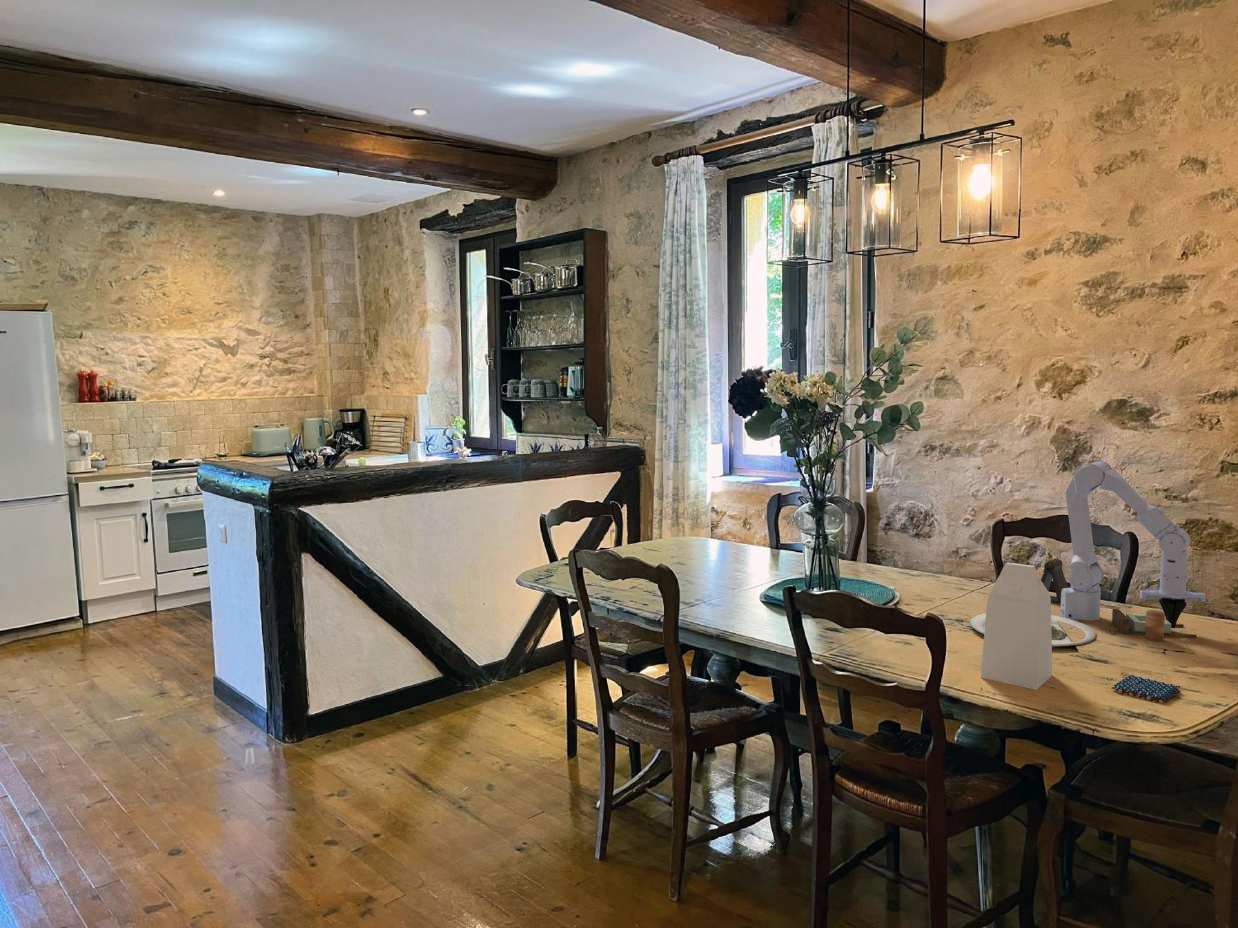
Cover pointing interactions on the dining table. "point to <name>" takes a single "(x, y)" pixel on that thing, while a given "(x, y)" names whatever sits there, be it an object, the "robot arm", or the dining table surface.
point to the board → (1123, 626)
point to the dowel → (1155, 625)
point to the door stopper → (1054, 578)
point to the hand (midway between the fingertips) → (1170, 627)
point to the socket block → (1143, 623)
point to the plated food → (1056, 630)
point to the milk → (1018, 629)
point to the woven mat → (1146, 688)
